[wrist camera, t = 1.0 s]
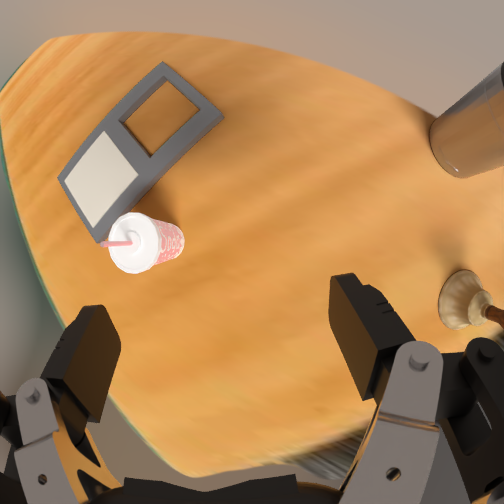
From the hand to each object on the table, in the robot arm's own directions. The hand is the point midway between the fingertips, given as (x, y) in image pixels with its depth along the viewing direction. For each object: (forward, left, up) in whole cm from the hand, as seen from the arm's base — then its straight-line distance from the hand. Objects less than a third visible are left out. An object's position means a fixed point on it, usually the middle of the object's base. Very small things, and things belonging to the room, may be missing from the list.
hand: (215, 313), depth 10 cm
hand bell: (-16, +22, -25) cm, 37 cm away
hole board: (+4, -24, -25) cm, 35 cm away
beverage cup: (+8, -10, -25) cm, 28 cm away
